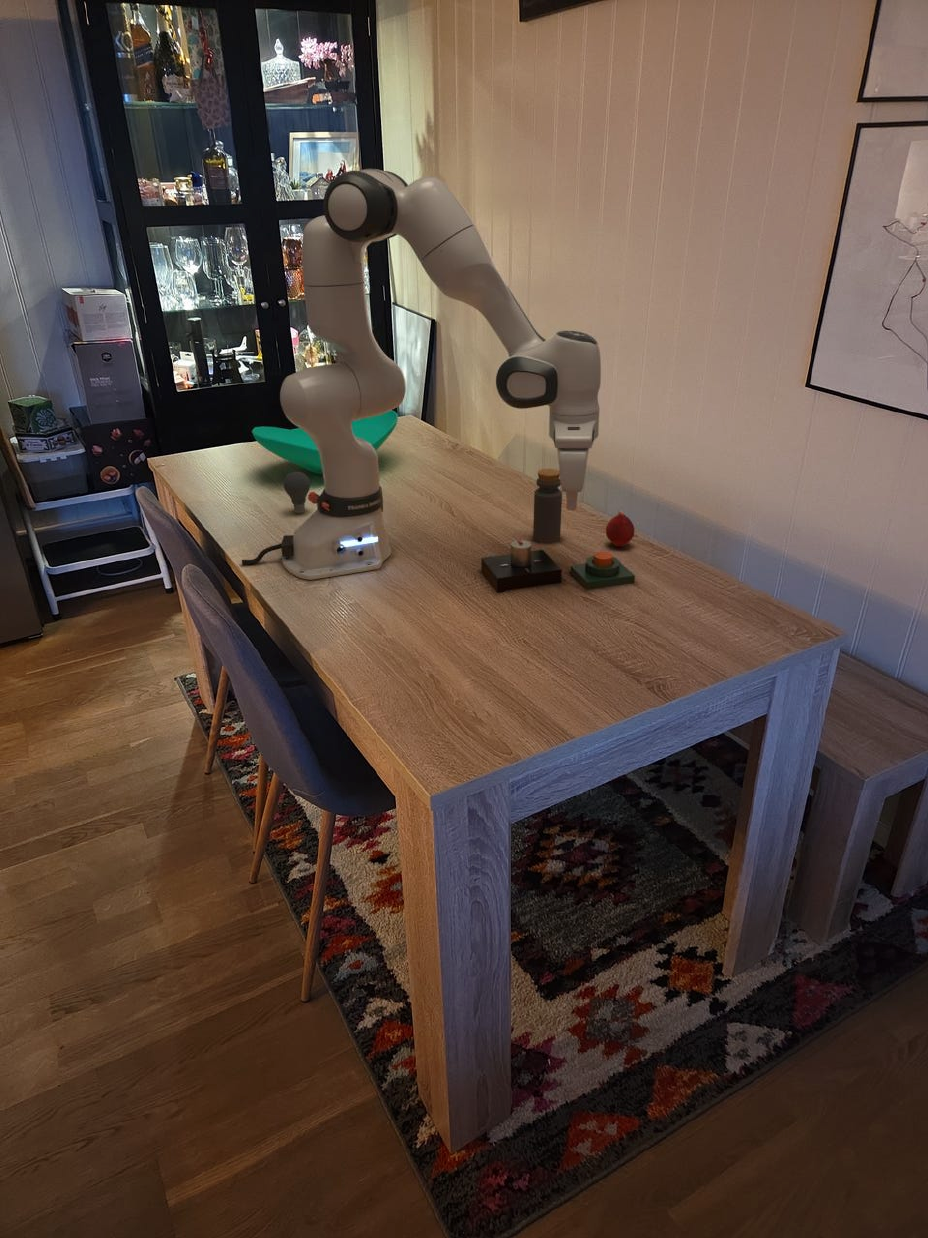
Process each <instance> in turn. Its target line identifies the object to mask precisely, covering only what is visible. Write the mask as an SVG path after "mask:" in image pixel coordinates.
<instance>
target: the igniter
mask: <svg viewBox="0 0 928 1238" xmlns="http://www.w3.org/2000/svg"><path fill="white" fill-rule="evenodd" d="M593 562H594V555H592V556H590V557H587V558H586V560H585V563H581V564H580V563H579V564H574V565H570V566H569V567H570V568H569V573H570V575H571V576H572V577H573V578H574V579H575V580H576V581H577V582H578V583H579V584H580V585H581V586H582V587H583V588H584V589H585V590H586V591H588V590H596V589H603V588H609V587H615V586H622V585H629V584H634V583H635V579H636V575H635V574H634V573H633V572H632V571H631V570H629V569H628V567H626V566H625V565H624V564H622V563H621V561H620V560H619V559H618V558H617V557H614V556H613V561H612V565H611V566H606V567H603V566H597V565H594V563H593Z"/></svg>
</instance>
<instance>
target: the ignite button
mask: <svg viewBox="0 0 928 1238" xmlns="http://www.w3.org/2000/svg"><path fill="white" fill-rule="evenodd" d="M593 556H594V562H593V563H594V565H597V566H603V567H606V566H611V565H612V561H613V557H614V555H613V553H611V552H607V551H597V552H595V553H594V554H593Z"/></svg>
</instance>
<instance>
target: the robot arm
mask: <svg viewBox="0 0 928 1238" xmlns="http://www.w3.org/2000/svg"><path fill="white" fill-rule="evenodd" d="M322 207H323V208H322V209H323V215H320V216H317V217H315V218H313V219H311V220H310V221H309V222H308V223H307V224H306V225H305V227H304V228H303V232H302V241H301V242H302V243H301V270H302V283H303V294H304V303H305V311H306V320H307V326H308V328H309V330H310V332H311V333H312V334H313V335H314V337H316V338H317V339H319V340H320V341H322V342H325V343H327V344H330V345H331V346H332V347H333V349H334V351H335V354H336V355H335V356H336V359H337V362H336V363H335V362H334V363H329V364H323V365H316V366H310V367H306V368H304V369H301V370H298V371H297V372H294V373H292V374H290V375H287V376H286V377H285V378H284V380H283V382H282V384H281V387H280V392H279V401H280V406H281V410H282V412H283V413H284V415H285V417H286V418H287V419H288V421H289V422H291V423H292V424H293V425H294V426H295V427H297V428H301V429H302V430H304V431H305V432H306V433H307V434H308V435H309V436H310V437H311V439H312V440H313V442H314V443H315V445H316V447H317V449H318V452H319V455H320V459H321V465H322V472H323V475H322V479H323V486H324V488H323V490H322V492H321V494H318V493H316V492H315V491H309V492H308V494H307V500H308V501H309V502H311V504H316V508H317V509H316V510H315V511H314V512H313V513H312V514H311V515H310V516H309V517H308V518H307V519H305V521H304V522H303V523H302V524H301V525H299V526H298V527H297V528H296V529H295V530H294V532H293V534H287V535H285V534H284V535H283V538H282V541H281V543H277V544H274V545H270V546H268V547H266V548H264V549H262V550H261V551H260V552H259V554H257V557H255V558H253V559H241V565H256V564H258V563H260V562H261V561H262V559H263V557H265V555H267V554H268V553H270V552H273V551H277V550H280V551H281V558H282V559H281V563H282V566H283V567H284V569H286V571H288V572H289V573H290V574H292V575H293V576H295V577H297V578H300V579H303V580H309V581H310V580H311V581H312V580H318V579H319V580H320V579H324V578H330V577H336V576H343V575H350V574H355V573H362V572H367V571H368V572H369V571H372V570H373V571H375V570H379V569H381V568H382V565H383V563H384V562H385V561H386V560H387V559H388V558H389V557H390V556H391V554H392V548H391V546H390V542H389V540H388V536H387V532H386V529H385V523H384V516H383V511H384V497H383V489H382V486H381V485H380V472H379V455H378V452H377V450H375V449H374V447H373V446H372V445H371V444H370V443H369V442H367V441H365V440H363V439H361V438H358V437H355V436H354V434H353V431H352V421H354V420H359V419H364V418H368V417H373V416H378V415H381V414H383V413H386V412H388V411H390V410H394V409H396V408H399V407H400V406H401V405H402V404H403V402H404V400H405V396H406V391H407V383H406V378H405V375H404V372H403V370H402V369H401V366H399V365H398V363H397V362H395V361H394V360H393V359H391V358H390V357H388V356H387V354H385V352H384V351H383V350H382V348H381V347H380V346H379V344H378V342H377V340H376V338H375V336H374V333H373V331H372V326H371V323H370V316H369V309H368V301H367V289H366V279H365V270H364V269H365V268H364V255H365V252H366V250H367V247H368V246H369V245H376V244H378V243H381V242H383V241H386V240H388V239H391V238H394V237H396V236H400V237H401V238H402V239H404V240H405V241H406V242H407V244H408V245H409V246H410V247H411V249H412V250H413V252H414V254H415V256H416V257H417V259H418V261H419V263H420V264H421V266H422V268H423V269H424V271H425V273H426V275H427V276H428V277H429V279H430V280H431V281H432V283H433V284H434V285H435V286H436V287H437V288H438V290H440V292H441V293H442V294H443V295H445V296H446V297H448V298H450V299H452V300H456V301H459V302H462V303H464V304H467V305H469V306H471V307H472V308H474V309H475V310H477V311H478V312H479V313H480V314H481V315H482V316H483V317H484V318H485V319H486V321H487V323H488V324H489V325H490V326H491V328H492V330H493V331H494V333H495V335H496V336H497V338H498V339H499V341H500V342H501V344H502V345H503V347H504V349H505V350H506V352H507V354H508V358H506V359H505V360H504V362H503V363H501V365H500V366H499V367H498V370H497V371H496V376H495V386H496V387H495V388H496V391H497V393H498V395H499V397H500V399H501V400H502V401H503V402H504V403H505V404H507V405H508V406H509V407H512V408H514V409H520V410H522V409H523V410H524V409H525V410H526V409H531V408H532V409H533V408H539V407H544V406H547V407H549V414H548V417H549V418H548V419H549V421H548V425H549V426H548V436H549V438H550V439H551V440H552V441H553V445H554V448H555V449H556V450H557V457H558V470H559V472H560V476H559V479H560V482H561V485H560V488H561V492H562V493H565V497H566V498H565V499H566V510H567V511H577V506H578V505H577V504H578V495H579V493H581V492H582V491H583V489H584V484H585V478H586V471H587V465H588V458H589V452H590V449H592V448H593V444H594V442H595V440H596V439H597V438H598V437H599V433H600V403H599V392H600V390H601V389H600V388H601V384H602V383H601V381H602V360H601V350H600V346H599V343H598V341H597V340H596V339H595V338H594V336H592V335H590V334H587V333H585V332H581V331H577V330H560V331H557V332H555V334H554V335H552V336H550V337H549V338H548V339H546V338H545V337H543V336H542V335H541V334H540V333H539V332H538V331H537V330H536V328H535V327H534V325H533V323H532V322H531V321H530V319H529V317H528V316H527V315H526V312H525V311H524V310H523V308H522V307H521V306H520V303H519V302H518V300H517V299H516V297H515V296H514V293H512V291H511V289H510V287H509V286H508V285H507V284H506V282H505V280H504V277H503V276H502V274H501V271H500V270H499V269H498V266H497V265H496V262H495V260H494V259H493V257H492V255H491V253H490V251H489V249H488V247H487V245H486V243H485V241H484V239H483V237H482V235H481V233H480V231H479V230H478V228H477V226H476V224H475V223H474V221H473V219H472V217H471V216H470V214H469V212H468V211H467V210H466V208H465V207H464V206H463V204H462V203H461V201H460V200H459V198H458V197H457V196H456V195H455V194H454V192H453V190H451V189H450V187H448V185H447V184H446V183H445V181H443V180H442V179H441V178H438V177H436V176H423V177H420V178H417V179H415V180H413V181H412V182H411V183H409V184H408V182H407V181H406V180H405V179H404V178H402V177H401V176H400V175H398V174H396V173H395V172H393V171H389V170H381V169H376V168H365V169H361V170H349V171H345V172H343V173H341V174H339V175H337V176H336V177H334V179H333V180H332V181H330V183H329V184H328V186H327V187H326V190H325V192H324V195H323V200H322Z"/></svg>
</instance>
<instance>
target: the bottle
mask: <svg viewBox="0 0 928 1238" xmlns="http://www.w3.org/2000/svg"><path fill="white" fill-rule="evenodd" d="M537 476H538V477H537V479H536V481H535V482H536V483H535V484H536V486H537V487H538V488H537V489H535V490H534V495H533V523H532V524H533V525H532V539H533V541H535V542H536V543H540V544H554V543H557V542H559V541H560V540H561V530H562V529H561V527H562V526H561V525H562V506H563V504H562V503H563V491H562V489H559V487H561V482H560V472H559V469H556V468H541V469H538V471H537Z"/></svg>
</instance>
